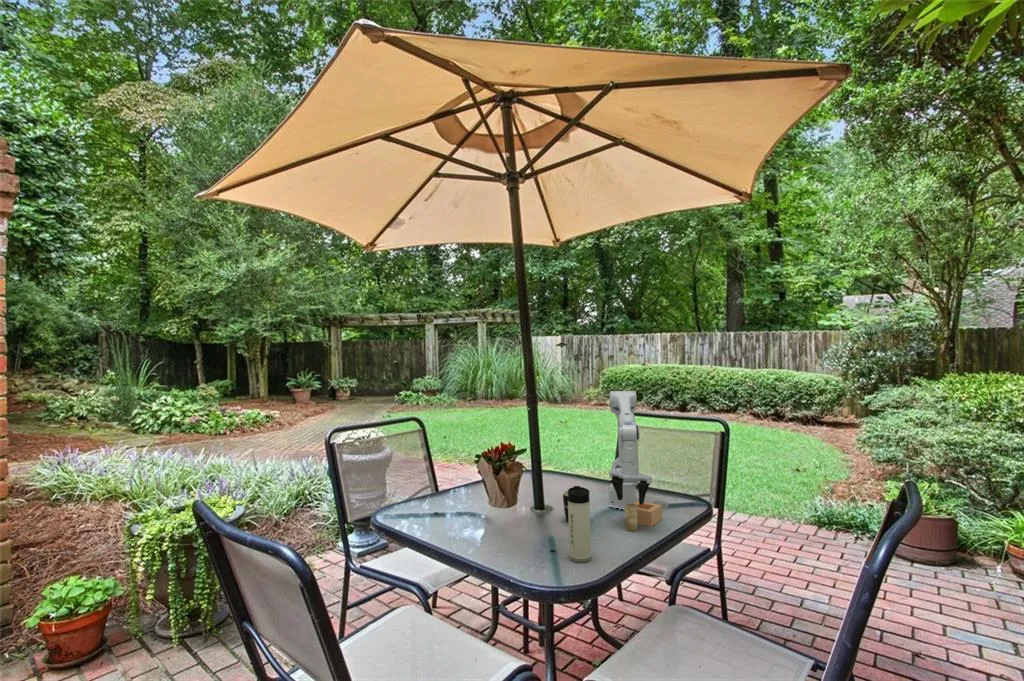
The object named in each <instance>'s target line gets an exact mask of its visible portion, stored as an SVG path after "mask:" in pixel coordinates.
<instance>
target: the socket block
mask: <svg viewBox="0 0 1024 681" xmlns="http://www.w3.org/2000/svg"><path fill="white" fill-rule="evenodd" d="M633 504H635V505H637V518H638V525H640V524H642V525H641V526H644V525H647V526H646V527H649V526H651V527H650V528H653V527H654V526H656V523H657V522H658V523H659V522H661V521H662V520H663V505H662V504H659V503H652V502H647V501H644V503H643V504H639V500H636V502H635V503H633ZM661 519H662V520H661ZM660 520H661V521H660ZM658 523H657V524H658ZM653 525H654V526H653ZM652 526H653V527H652Z"/></svg>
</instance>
